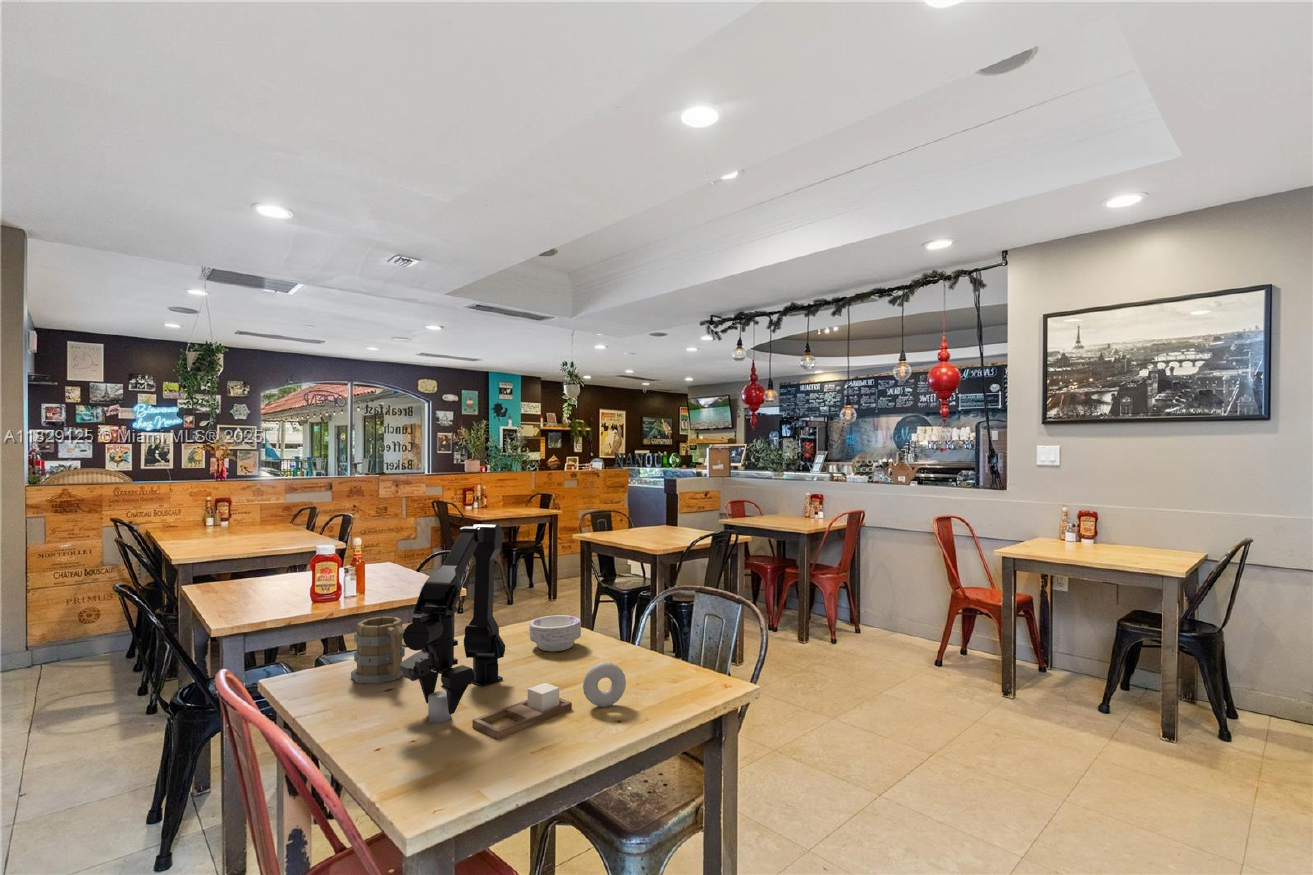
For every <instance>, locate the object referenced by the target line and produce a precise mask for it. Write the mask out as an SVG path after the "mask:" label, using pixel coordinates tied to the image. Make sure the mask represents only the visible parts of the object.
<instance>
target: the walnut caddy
mask: <svg viewBox="0 0 1313 875" xmlns="http://www.w3.org/2000/svg"><path fill="white" fill-rule="evenodd" d="M572 706H573V704H572V701H569V700H566V699H564V698H562V697H559V705H558V706H556V707H553V708H551V709H548V710H545V711H543V712H540V711H537V710H535V709H532V708H530V707H528V699H526V700H525V699H524V700H523V701H520V702H517V703H514V704H512V705H509V706H506V707H504V708H501V709H498V710H495V711H492V712H490V713H486V714H483V715H481V716H479V717H476V718H473V719H472V728H475V729H477V730H478V731H481V732H482V733H485V734H487V735H489V736H491V737H493V738H494V739H497V740H498V739H502V738H504V737H506V736H508V735H509V736H510V735H512V734H514V733H516V732H519V731H521V730H524V729H526V728H529V727H531V726H534V725H537V724H538V723H542V722H543V721H546V720H549V719H551V718H553V717H556V716H558V715H561V714H563V713H566V712H568V711H571V710H572V709H573V707H572ZM505 717H507V718H509V719H511V720H514V721H515V722H512V723H509V724H507V725H505V726H503V727H500V728H499V727H496V726H494V725H492V724H491V723H492V722H495V721H497V720H501V719H502V718H505Z"/></svg>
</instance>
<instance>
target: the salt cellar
mask: <svg viewBox="0 0 1313 875" xmlns="http://www.w3.org/2000/svg"><path fill="white" fill-rule="evenodd" d="M427 707H428V712H427V713H428V714H427V715H428V716H427V720H428V721H429V722H430V723H435V724H436V723H442V722H443V723H444V722H446V721H449V720H451V718H452V714H449V711H448V703H447V692H446V691H445V690H441V691H434V693H431V694H430V695H429V696H428V705H427Z"/></svg>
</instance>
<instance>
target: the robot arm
mask: <svg viewBox="0 0 1313 875" xmlns="http://www.w3.org/2000/svg"><path fill="white" fill-rule="evenodd" d="M504 538H505V531H504V529H503V528H501V526H500V525H499V524H495V523H494V524H491V523H490V524H485V523H478V524H477V523H475V524H473V526H471V525H470V526H469V525H464V526H461V527H460V528H459V530H458V537H457V538H456V540H455V542H454V543H453V546H452V547H451V549H450V551H449V553H448V554H447V556H446V559H445V560H444V562H443V564H442V566H441V567H440V568H439V569H437V570H436V571H434V572H433V573H431V574H430V575H429V577H428V578H427V579H426V580H425V582H424V583H423V585H422V587H421V589H420V592H419V595H418V597H417V598H418V599H417V601H416V604H415V606H414V610H413V615H414V616H412V620H411V621H412V622H411V623H410V624H408V625H407V626H406V627H405V628H404V629H405V631H404V633H403V639H402V641H403V642H404V644H405V646H406V647H407V648H408V649H409V650H411V651H415V652H416V653H413V654H412V655H410V656H409V657H407V658H406V659H404V660H402V662H401V663H400V667H401V670H402V673H403V675H402V676H403V678H404V679H408V680H410V681H411V682H416V681H418V682H419V684H420V688H421V690H422V695H423V697H424V700H425V703H426V704H428V696H429V695H430V694H431V693H434V692H436V685H437V682H438V678H439V674H440V681H441V684H442V685H440V687H441V688H442V689H443V691H446V692H447V703H448V711H449V714H451V715H453V714H455V712H456V710H457V708H458V706H459V704H460V701H461V700H462V697H463V695H464V693H465V691H466V690H467V688H468V686H470V685H472V684H473V683H474V684H476V685H478V686H480V687H483V686H486V685H490V684H493V683H497V682H499V681H503V679H504V678H503V676H500V675H499V659H501V658H502V659H503V658H504V657H505V651H506V644H505V643H504V641H503V639H502V638H501V636H500V627H499V625H498V623H497V620H496V619H495V617H494V594H495V593H494V590H495V589H494V588H495V562H496V558H497V556H498V555H499V554H500V552H501V550H502V548H503V542H504ZM472 557H473V558H474V562H475V563H474V581H473V582H474V585H473V586H474V588H473V610H472V611H473V613H472V615H473V616H472V618H471V621H469V623H468V625H466V626H465V628H464V638H463V648H464V654H465V657H466V659H469V658H470V659H472V667H470V666H467V665H464V664H460V665H458V664H459V659H458V658H456V657H455V647H456V646H459V641H458V640H457V639H455V613H457V612H458V607H457V606H456V605H457V603H458V601H459V600H460V597H461V592H462V589H463V588H462V583H461V581H462V580H461V579H462V576H463V574H464V572H465V571H466V569H467V566H468V565H469V563H470V561H471V559H472ZM455 665H458V666H455ZM453 666H455V667H453Z"/></svg>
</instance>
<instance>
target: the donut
mask: <svg viewBox="0 0 1313 875" xmlns="http://www.w3.org/2000/svg"><path fill="white" fill-rule="evenodd" d="M604 678H606V679H609V680H610V682H611V685H610V687H609V688H608V689H607V690H600V689H599V685H598V684H599V682H600V680H602V679H604ZM626 686H627V681H626V675H625V673H624V671H623V669H622V668H620V667H619V666H618V664H614V663H612V662H605V661H604V662H600V663H597V664H595V665H593V666H592V667H591V668H590V669H589V670H588V671H587V672H586V674H585V676H584V678H583V683H582V689H583V694H584V695H585V698H586V699H587V701H589V702H590V703H591V704H592V705H593V706H596V707H602V708H604V707H605V708H606V707H609V706H613V705H614V704H615V703H617V702H618V701H619V700H620V699H621V698H622V696H624V693H625V691H626Z"/></svg>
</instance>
